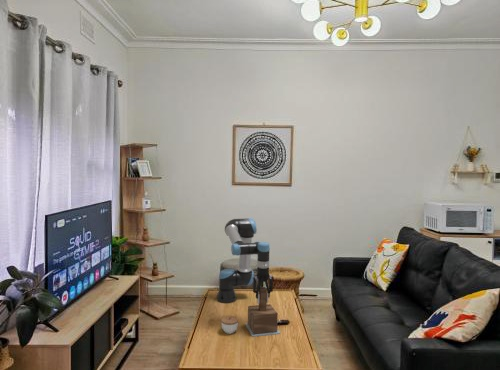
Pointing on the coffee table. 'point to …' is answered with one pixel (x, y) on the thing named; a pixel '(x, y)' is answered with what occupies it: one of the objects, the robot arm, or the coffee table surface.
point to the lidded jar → (229, 324)
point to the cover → (262, 315)
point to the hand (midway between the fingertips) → (262, 302)
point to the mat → (260, 334)
